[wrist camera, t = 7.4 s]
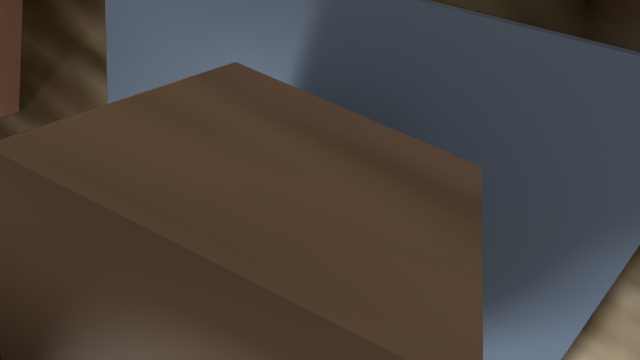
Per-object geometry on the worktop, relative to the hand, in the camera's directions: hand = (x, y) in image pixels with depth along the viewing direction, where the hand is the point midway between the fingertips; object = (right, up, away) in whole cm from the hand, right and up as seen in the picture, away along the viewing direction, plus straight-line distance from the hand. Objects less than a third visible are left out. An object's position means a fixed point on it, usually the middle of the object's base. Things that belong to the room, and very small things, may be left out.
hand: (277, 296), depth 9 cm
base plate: (+1, +1, +3) cm, 4 cm away
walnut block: (0, 0, +1) cm, 1 cm away
